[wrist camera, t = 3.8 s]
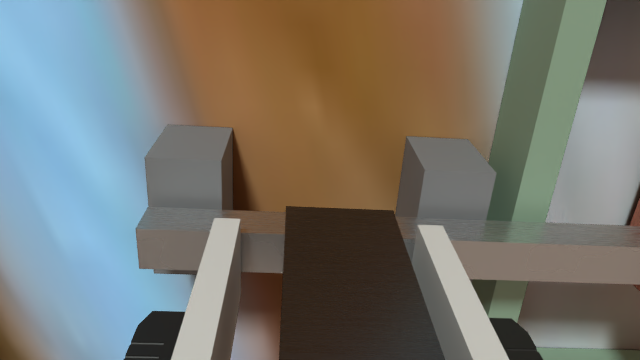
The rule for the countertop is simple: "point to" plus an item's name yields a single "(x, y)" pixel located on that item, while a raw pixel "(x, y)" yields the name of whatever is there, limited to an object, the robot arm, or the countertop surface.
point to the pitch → (445, 152)
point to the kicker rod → (382, 268)
